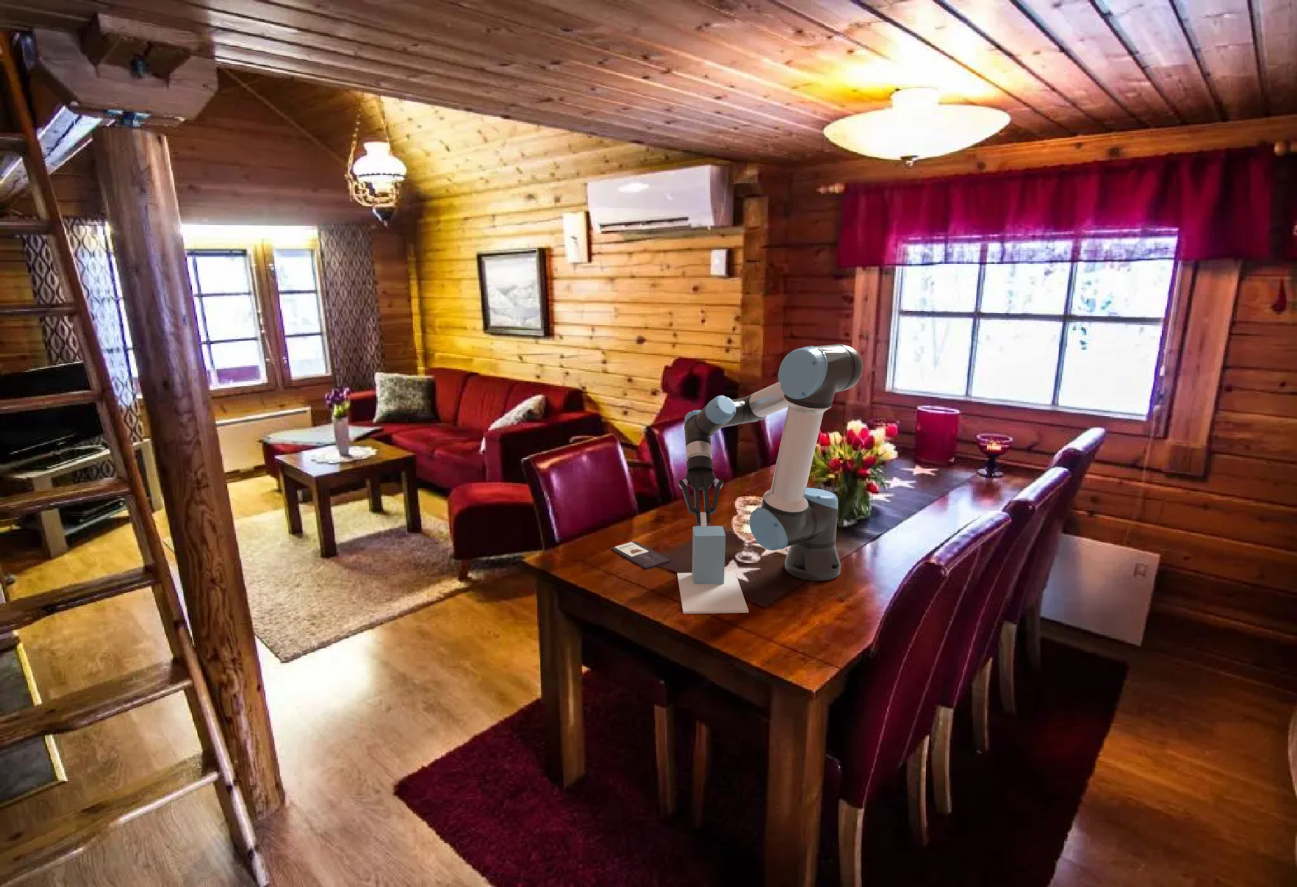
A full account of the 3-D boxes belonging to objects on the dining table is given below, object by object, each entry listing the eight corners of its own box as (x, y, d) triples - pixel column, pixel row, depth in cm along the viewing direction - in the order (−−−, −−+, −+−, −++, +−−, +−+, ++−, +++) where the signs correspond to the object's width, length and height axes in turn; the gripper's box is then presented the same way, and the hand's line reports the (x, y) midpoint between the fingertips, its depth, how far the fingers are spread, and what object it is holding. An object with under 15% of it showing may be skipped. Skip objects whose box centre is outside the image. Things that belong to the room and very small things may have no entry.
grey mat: (735, 574, 188) (735, 572, 187) (748, 612, 166) (748, 610, 166) (677, 575, 187) (677, 573, 187) (683, 613, 166) (683, 611, 166)
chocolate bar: (646, 568, 191) (610, 548, 205) (646, 571, 191) (610, 551, 205) (671, 560, 196) (634, 541, 210) (671, 563, 196) (635, 544, 210)
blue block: (721, 572, 186) (722, 526, 182) (724, 583, 181) (725, 535, 176) (692, 573, 186) (692, 526, 182) (694, 584, 180) (694, 536, 176)
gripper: (720, 466, 199) (726, 541, 187) (676, 466, 199) (679, 541, 187) (723, 453, 193) (729, 530, 181) (677, 454, 193) (680, 531, 181)
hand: (704, 536), depth 184 cm, fingers closed
